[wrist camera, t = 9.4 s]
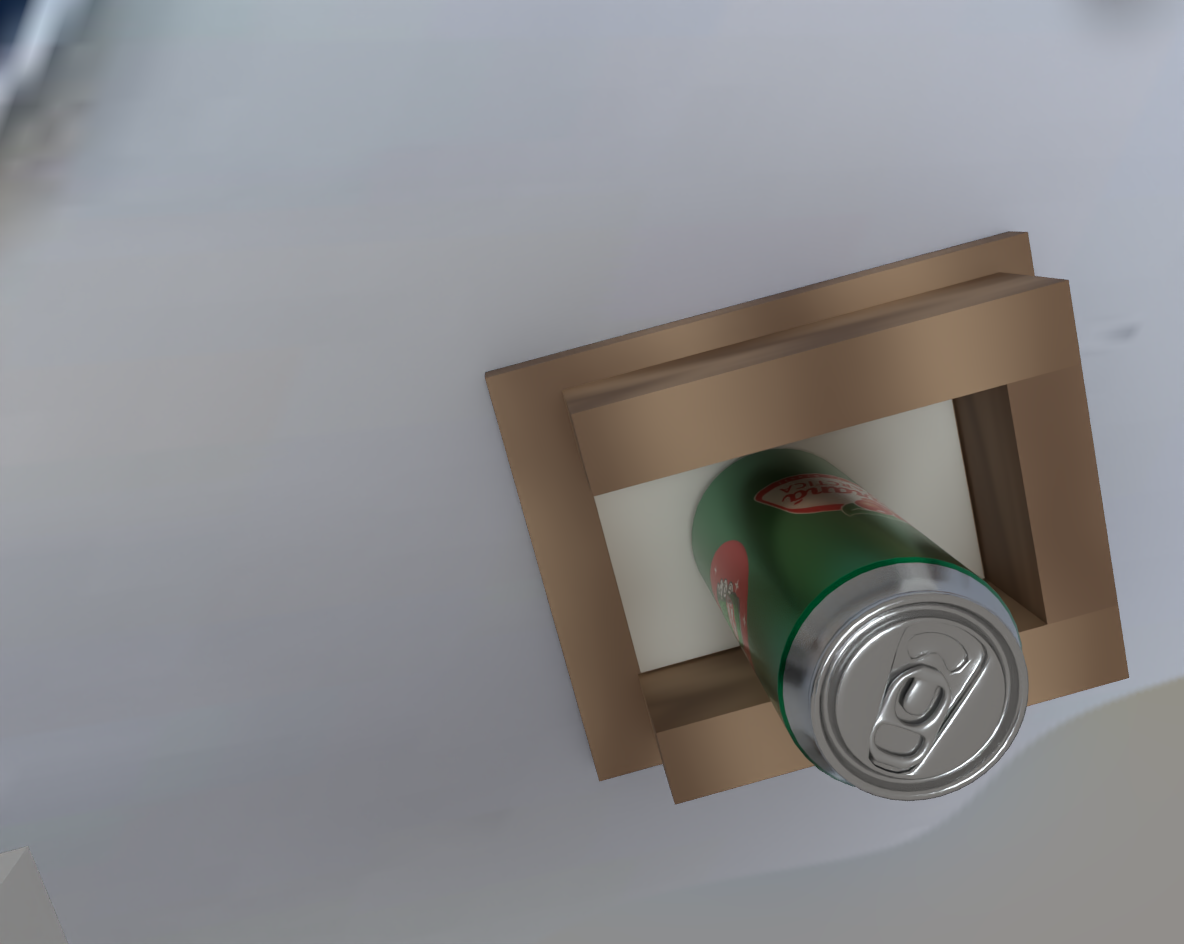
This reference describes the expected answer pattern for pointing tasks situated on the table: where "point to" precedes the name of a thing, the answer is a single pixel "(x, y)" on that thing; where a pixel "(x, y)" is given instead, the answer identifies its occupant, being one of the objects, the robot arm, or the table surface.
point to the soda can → (860, 628)
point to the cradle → (840, 436)
